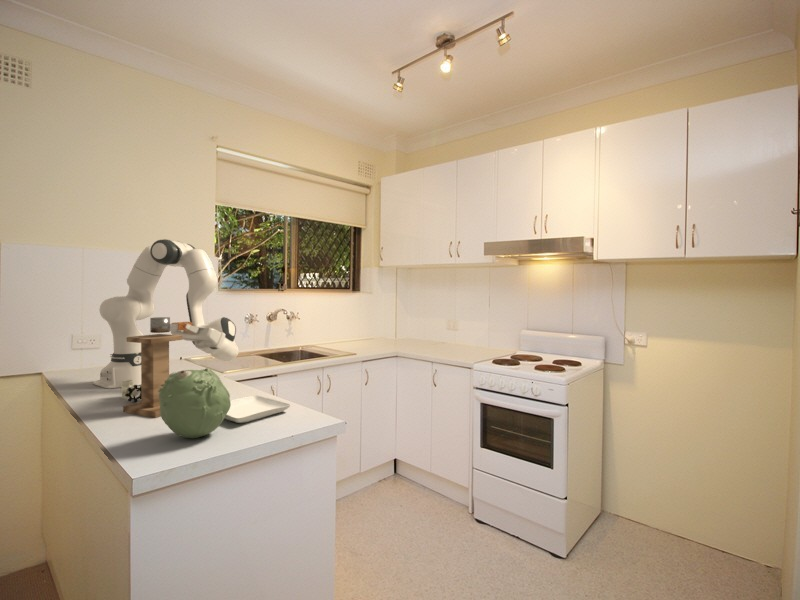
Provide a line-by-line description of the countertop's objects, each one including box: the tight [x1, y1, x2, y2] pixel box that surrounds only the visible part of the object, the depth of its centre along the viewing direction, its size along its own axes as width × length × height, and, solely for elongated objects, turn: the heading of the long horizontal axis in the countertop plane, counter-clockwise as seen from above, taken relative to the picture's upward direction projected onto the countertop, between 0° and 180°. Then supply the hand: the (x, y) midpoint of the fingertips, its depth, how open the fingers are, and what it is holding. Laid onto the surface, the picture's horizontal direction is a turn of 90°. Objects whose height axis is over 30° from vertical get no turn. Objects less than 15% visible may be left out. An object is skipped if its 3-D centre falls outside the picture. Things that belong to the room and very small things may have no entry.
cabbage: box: [158, 367, 231, 439], centre depth 118 cm, size 16×19×20 cm
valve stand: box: [122, 333, 184, 419], centre depth 143 cm, size 16×12×26 cm
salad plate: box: [224, 394, 292, 424], centre depth 141 cm, size 21×21×3 cm
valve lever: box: [149, 316, 192, 334], centre depth 149 cm, size 6×15×5 cm, turn 158°
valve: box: [120, 380, 141, 403], centre depth 157 cm, size 7×7×12 cm
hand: (180, 325), depth 152 cm, fingers closed on valve lever, 3 cm apart
